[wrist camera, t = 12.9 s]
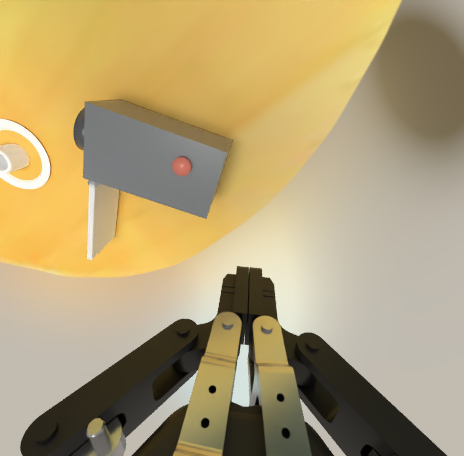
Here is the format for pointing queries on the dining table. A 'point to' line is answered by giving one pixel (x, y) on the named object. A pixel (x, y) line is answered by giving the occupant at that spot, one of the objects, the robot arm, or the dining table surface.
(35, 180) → the candle holder
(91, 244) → the side door
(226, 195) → the dining table surface
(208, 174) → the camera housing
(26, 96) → the dining table surface
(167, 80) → the dining table surface
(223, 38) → the dining table surface
